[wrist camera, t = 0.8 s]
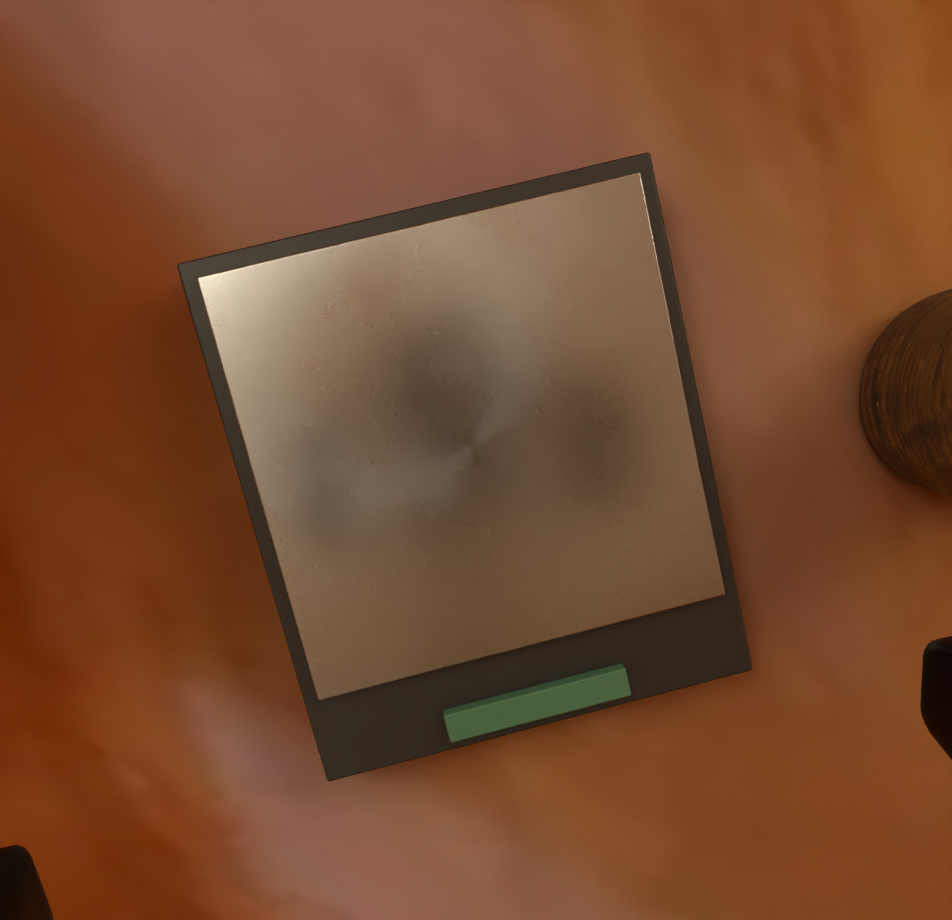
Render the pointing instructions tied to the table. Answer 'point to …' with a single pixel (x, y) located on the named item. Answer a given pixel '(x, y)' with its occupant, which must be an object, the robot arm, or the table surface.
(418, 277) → the kitchen scale
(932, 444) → the utensil holder
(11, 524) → the table surface
